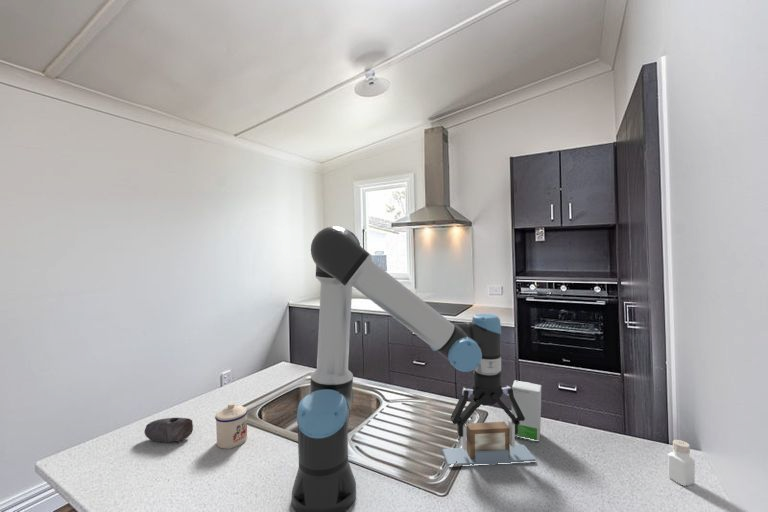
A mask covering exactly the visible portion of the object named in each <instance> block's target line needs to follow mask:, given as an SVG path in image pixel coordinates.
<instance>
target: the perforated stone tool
mask: <svg viewBox="0 0 768 512" xmlns="http://www.w3.org/2000/svg"><path fill="white" fill-rule="evenodd" d="M193 430H194V425H193V420H192V418H187V417H167V418H161V419H156V420H153V421H150V422H149V423H148V424H146V425H145V428H144V436H145V437H146V438H148V439H149V440H151V441H152V442H153V441H154V442H160V443H161V442H162V443H172V442H178V443H179V442H183V441H184V440H185V439H188V438H189V437H190V435H191V434H192V433H193Z"/></svg>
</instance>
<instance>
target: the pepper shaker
mask: <svg viewBox="0 0 768 512" xmlns="http://www.w3.org/2000/svg"><path fill="white" fill-rule="evenodd" d="M690 448H691V446H690V443H688V442H686V441H683V440H680V439H674V440H673V441H672V450H673V451H670V452H669V453H668V454H667V477H668V476H669V477H670V478H672V479H673V480H672V479H671V480H672V481H674V480H675V481H677V482H678V483H677V482H676V483H677V484H679V483H680V484H681V485H680V484H679V485H680V486H682V485H683V487H687V486H691V485H694V484H695V481H696V479H695V469H696V467H695V465H696V464H695V462H696V461H695V459H694V458H693V457H691V456H690V454H691V453H690V450H691V449H690ZM669 477H668V478H669ZM670 478H669V479H670ZM675 481H674V482H675ZM690 484H691V485H690ZM686 485H687V486H686Z"/></svg>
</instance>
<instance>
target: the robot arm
mask: <svg viewBox="0 0 768 512" xmlns="http://www.w3.org/2000/svg"><path fill="white" fill-rule="evenodd" d="M310 255H311V258H312V260H313V262H314V264H315V278H316V279H317V280H318V282H320V294H319V295H320V296H319V315H318V316H319V318H318V336H317V338H318V339H317V353H316V354H317V358H316V369H315V370H314V371H313V372H312V373H310V383H309V384H310V385H309V386H310V387H309V388H310V389H309V394H306V395H305V396H304V397H303V398H302V399H301V400H300V402H299V404H298V405H297V412H296V424H297V447H298V448H297V450H298V469H297V472H296V476H295V478H294V479H295V480H294V482H293V486H292V489H291V505H292V508H293V510H294V511H295V512H346V511H347V510H348V509H349V508H350V507H351V506H352V505H353V504H354V502H355V499H356V497H357V483H356V478H355V475H354V473H353V470H352V468H351V465H350V463H349V441H348V440H349V439H348V437H349V436H348V433H349V424H350V423H349V422H350V417H351V412H352V407H353V402H354V390H353V385H354V375H353V372H351V371H350V370H349V359H350V358H349V357H350V355H349V354H350V336H351V335H350V334H351V318H352V317H351V314H352V300H353V299H352V295H353V294H352V293H353V288H355V290H357V291H358V292H359V293H361V294H362V295H363V296H365V297H366V298H367V299H368V300H370V301H371V302H372V303H373V304H375V305H376V306H378V307H379V308H380V309H381V310H383V311H385V312H386V313H387V314H388V315H390V317H392V318H393V319H395V320H396V321H397V322H398V323H400V324H401V325H403V326H404V327H405V328H406V329H408V330H409V331H411V332H412V333H413V334H414V335H416V336H417V337H418V338H419V339H421V341H424V342H425V343H426V344H427V345H428V346H430V350H432V352H433V351H434V352H437V353H438V354H440V355H441V356H442V357H444V358H445V359H446V360H448V362H449V363H450V365H451V366H452V367H453V368H454V369H456V370H458V371H459V372H462V373H468V372H469V373H470V372H472V371H473V372H472V388H467V387H466V386H463V387H461V393H460V397H459V398H458V400H457V401H458V402H457V403H456V405H455V407H454V409H453V412H452V414H451V415H450V421H451V422H452V424H453V425H456V426H457V428H456V429H457V431H456V432H457V434H458V437H459V438H460V445H461V448H463V449H464V450H466V448H467V438H466V423H467V421H468V420H469V418H471V417H472V415H473V414H474V412H475V411H476V410H477V409H478V408H479V407H480V406H483V407H484V406H488V405H490V406H495V404H496V403H497V405H498V406H499V407H500V408H501V409H502V410H503V411H504V413H506V415H508V417H509V418H510V419H509V418H508V420H507V426H508V427H509V428H510V445H511V446H512V448H514V447H515V445H516V437H515V434H517V433H518V425H519V424H520V422H519V421H524V420H525V417H524V416H523V414H522V412H521V410H520V408H519V406H518V404H517V402H516V400H515V398H514V395H513V389H512V386H510V385H508V384H507V385H505V386H504V387H502V373H501V371H502V351H501V350H502V326H501V319H500V317H499V316H497V315H495V314H491V313H479V314H474V315H473V316H472V320H471V322H451V321H449V320H448V319H447V318H446V317H444V316H443V315H442V314H441V313H439V312H438V311H437V310H436V309H434V308H433V307H432V306H430V305H429V304H428V303H427V302H425V301H424V300H423V299H421V298H420V297H419V296H417V295H416V293H414V292H412V291H411V290H410V289H409V288H407V287H406V286H405V285H404V284H402V283H401V282H400V281H398V280H397V279H396V278H395V277H393V276H392V275H391V274H390V273H388V272H387V270H385V269H383V268H382V267H381V266H379V265H378V264H376V263H375V262H374V261H373V259H372V254H371V253H369V252H368V251H367V250H366V249H364V248H363V247H362V246H361V243H360V241H359V238H358V237H357V236H356V234H355V233H353V232H352V231H351V230H349V229H347V228H343V227H340V226H336V225H335V226H327V227H325V228H323V229H321V230H319V231H318V232H317V233H316V234H315V235H314V237H313V239H312V241H311V245H310ZM503 394H504V395H505V396H506V397H507V399H508V400H509V402H510V404H511V408H512V407H513V409H514V411H515V413H516V415H513V414H512V410H510V409H509V408H508V406H506V404H505V403H504V402H503V401H502V400H501V399H500V398H501V397H502V396H503ZM471 395H473V397H472V398H471V399H470V402H469V403H468V405H467V402H468V400H469V398H470V397H471ZM466 405H467V406H466ZM465 406H466V407H465Z"/></svg>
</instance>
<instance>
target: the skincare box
mask: <svg viewBox="0 0 768 512" xmlns="http://www.w3.org/2000/svg"><path fill="white" fill-rule="evenodd" d="M511 388H512V389H513V395H514V398H515V400H516V402H517V404H518V406H519V408H520V410H521V412H522V414H523V416H524V417H525V420H524V421H519V422H520V424H519V425H518V433H517V434H515V436H519V437H525V438H530V439H534V440H539V441H540V437H541V420H542V417H541V416H542V415H541V414H542V385H541V384H537V383H532V382H528V381H519V380H517V379H516V380H513V384H512V386H511ZM511 413H512V414H513V415H516V413H515V411H514V409H513V407H512V406H511Z"/></svg>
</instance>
